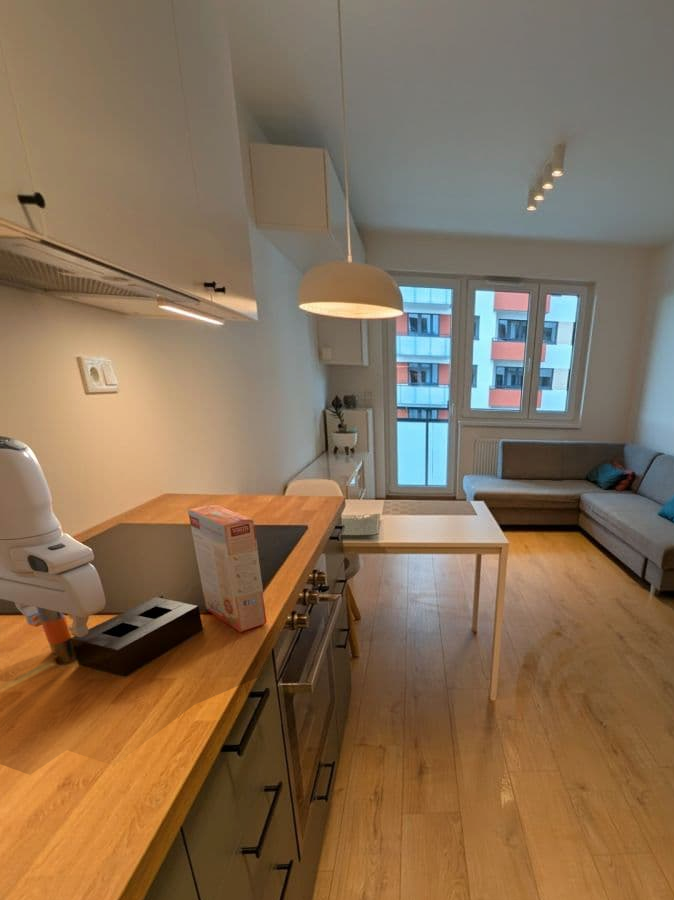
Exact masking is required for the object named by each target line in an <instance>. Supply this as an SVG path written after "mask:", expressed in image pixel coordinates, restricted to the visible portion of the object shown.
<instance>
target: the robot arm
mask: <svg viewBox="0 0 674 900" xmlns="http://www.w3.org/2000/svg"><path fill="white" fill-rule="evenodd" d="M52 503H53V497H52V494H51V490H50V488H49V484H48V482H47V479H46V476H45V474H44V471H43V468H42V466H41V465H40V463H39V460H38V458H37V457H36V454H35V453H34V451H33V450H32V449H31V448H30V447H29V446H28V445H27V444H26V443H24V442H22V441H20V440H18V439H15V438H11V437H8V436H2V435H0V600H4V601H8V602H13V603H14V605H15V607H16V608H17V610H18V611H19V612H20V613H21V614H22V615H23V616H24V617H25V620H26V622H27V625H28V626H31V627H35V628H37V627H40V626H42V623H41V619H40V616H39V613H38V610H37V607H40V608H44V609H48V610H53V611H57V612H62V613H64V614H66V615H68V617H69V619H70V620H72V624H71V625H70V626H68V627H69V630H70V633H71V636H72V637H74V636H77V637H82V636H84V635H87V634H88V632H89V630H88V629H89V628H88V620H89V617H90V616H93V615H96V614H97V613H99V612H101V611H103V610H104V608H105V607H106V604H107V602H106V596H105V592H104V587H103V585H102V581H101V577H100V575H99V573H98V571H97V569H96V567H95V566H94V565H93V564H92V563H91V562H93V561H94V560H95V555H94V552H93V549H91V548H90V546H87V545H85V544H83V543H81V542H80V541H78V540H76V539H74V538H73V537H72V536H70V535H69V534H68V533H66V532H63V529H62V528H63V527H62V525H61V522H60V521H59V519H58V518H57V516H56V515H55V513H54V511H53V510H54V509H53V505H52Z"/></svg>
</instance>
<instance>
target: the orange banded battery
mask: <svg viewBox="0 0 674 900" xmlns="http://www.w3.org/2000/svg"><path fill="white" fill-rule="evenodd" d="M36 608H37V610H38V613H39V616H40V619H41V623H42V625H41V626H42V629H43V631H44V634H45V637H46V639H47V642H48V644H49V647H50V650H51V652H52V654H53V655H55V656H56V657H54V661H55V663H56V664H57V665H61V666H63V665H69V664H72V663H73V662H75V661H77V658H76V655H75V652H74V649H73V646H72V643H71V640H70V638H72V637H73V636H72V634H71V631H70V629H69V627H70V626H69V624H68V621H67V618H66V615H65V613H62V612H57V611H53V610H48V609H44V608H40V607H36Z"/></svg>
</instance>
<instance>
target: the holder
mask: <svg viewBox="0 0 674 900" xmlns="http://www.w3.org/2000/svg"><path fill="white" fill-rule="evenodd" d="M88 630H89V632H88V634H87V635H84V636H82V637H77V636H71V637H72V638H70V640H71V643H72V646H73V649H74V652H75V655H76V658H77V660H76V662H77V664H78V665H79V666H82V667H86V668H90V669H94V670H98V671H101V672H105V673H109V674H113V675H117V676H120V677H125V678H126V677H128V676H129V675H131V674H132V673H135V672H137V671H138V670H139V669H141V668H143V667H144V666H146V665H148V664H149V663H151V662H153V661H154V660H156V659H157V658H159V657H160V656H163V655H164V654H165V653H168V652H169V651H171V650H172V649H174V648H176V647H177V646H180V645H181V644H182V643H184V642H186V641H187V640H189V639H191V638H192V637H193V636H195V635H197V634H199V633H201V632H202V631H204V627H203V622H202V616H201V612H200V607H199V605H196V604H192V603H191V604H190V603H186V602H183V601H177V600H171V599H167V598H162V597H158V596H155V597H153V598H151V599H149V600H147V601H145V602H142V603H141V604H139V605H136V606H135V607H133V608H130V609H128V610H126V611H124V612H122V613H120V614H118V615H115V616H113V617H111V618H109V619H107V620H105V621H103V622H101V623H99V624H96V625H95V626H92V627H91V628H88Z"/></svg>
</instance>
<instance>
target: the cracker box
mask: <svg viewBox="0 0 674 900" xmlns="http://www.w3.org/2000/svg"><path fill="white" fill-rule="evenodd" d="M187 513H188V519H189V523H190V529H191V533H192V539H193V545H194V550H195V555H196V560H197V567H198V571H199V578H200V583H201V584H200V585H201V589H202V594H203V599H204V605H205V610H206V611H208V612H209V613H211V614H212V615H214V616H215V617H216V618H218V619H219V620H221V621H223V622H224V623H225V624H226V625H228V626H230V627H231V628H232V629H234V630H236V632H239V633H243V632H245V631H248V630H252V629H255V628H257V627H260V626H264V625H266V624H268V621H267V614H266V613H267V612H266V607H265V606H266V605H265V598H264V589H263V583H262V574H261V567H260V559H259V551H258V542H257V536H256V527H255V520H254V519H252V518H250V517H248V516H245V515H243V514H240V513H238V512H236V511H232V510H230V509H227V508H225V507H223V506H220V505H218V504H213V505H212V504H211V505H205V506H201V507H194V508H189V509H188V510H187Z"/></svg>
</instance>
